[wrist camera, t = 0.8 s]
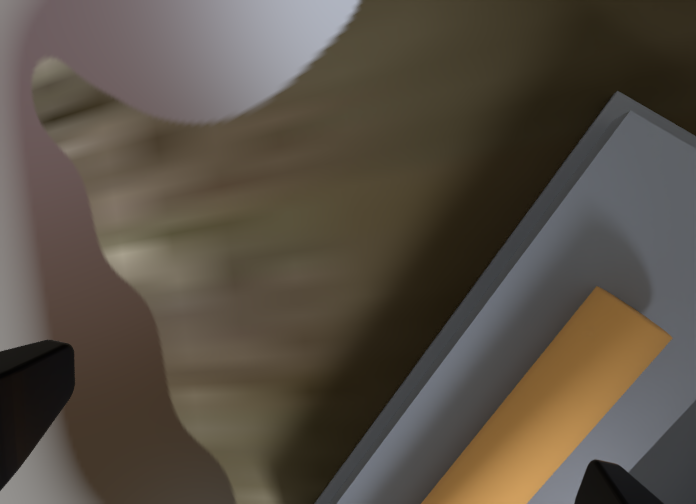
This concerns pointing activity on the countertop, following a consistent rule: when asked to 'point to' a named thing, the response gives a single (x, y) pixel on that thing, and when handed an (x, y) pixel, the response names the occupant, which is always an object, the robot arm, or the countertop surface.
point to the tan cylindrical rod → (554, 404)
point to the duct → (562, 323)
